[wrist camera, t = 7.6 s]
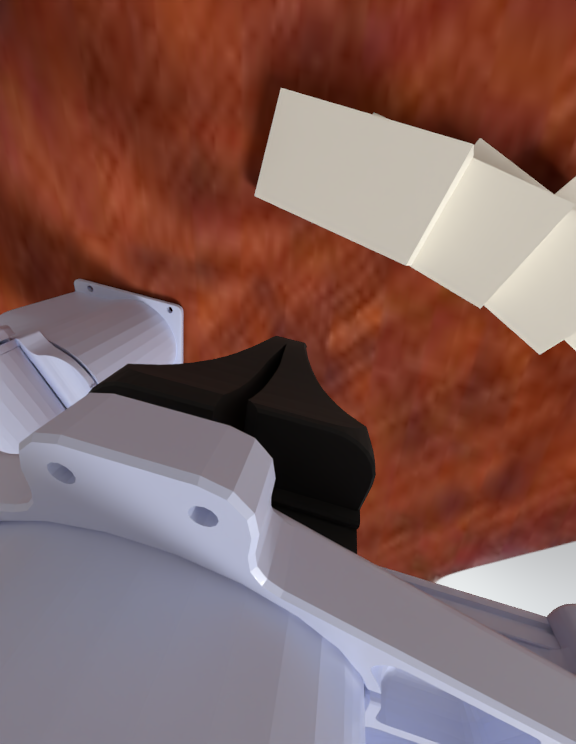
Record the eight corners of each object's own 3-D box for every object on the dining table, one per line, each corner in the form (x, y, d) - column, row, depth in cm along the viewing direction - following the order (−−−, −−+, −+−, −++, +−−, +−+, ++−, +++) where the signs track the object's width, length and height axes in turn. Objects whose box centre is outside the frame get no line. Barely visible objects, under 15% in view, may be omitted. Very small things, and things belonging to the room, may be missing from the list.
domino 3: (401, 232, 17) (539, 354, 15) (480, 137, 14) (663, 278, 12) (406, 233, 18) (535, 346, 16) (480, 147, 15) (646, 276, 13)
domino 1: (254, 195, 17) (406, 265, 14) (280, 87, 15) (473, 144, 11) (269, 200, 18) (411, 265, 15) (296, 101, 16) (473, 156, 13)
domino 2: (325, 215, 17) (480, 308, 14) (373, 112, 14) (575, 204, 12) (335, 218, 18) (479, 304, 16) (381, 124, 15) (565, 210, 13)
